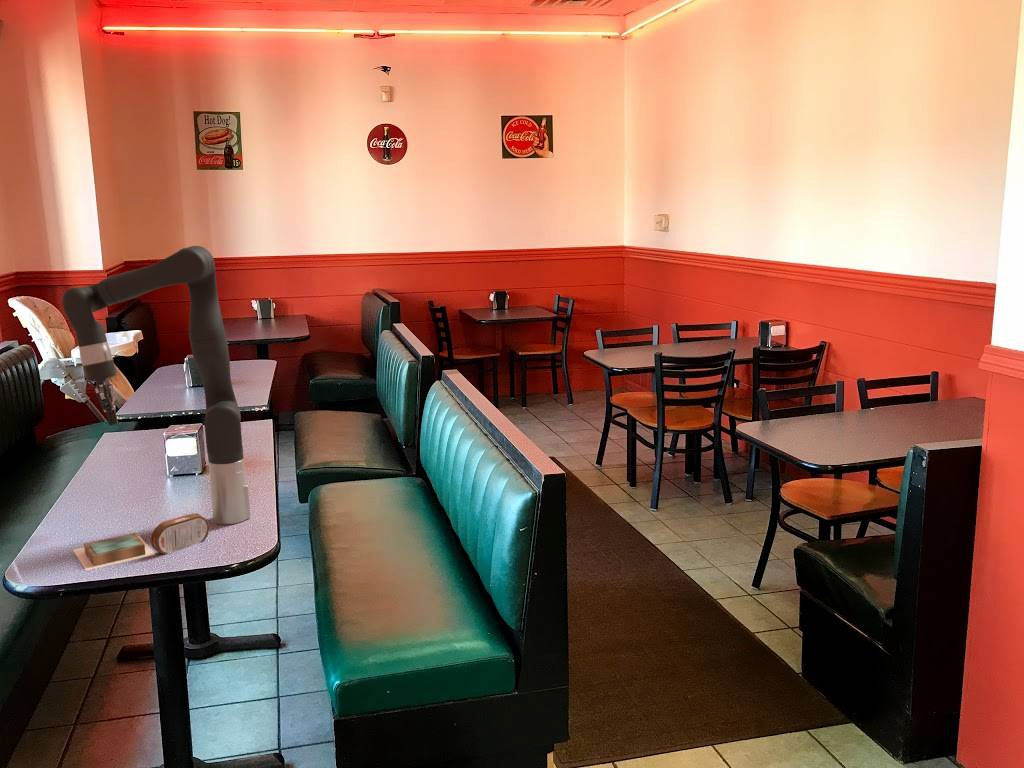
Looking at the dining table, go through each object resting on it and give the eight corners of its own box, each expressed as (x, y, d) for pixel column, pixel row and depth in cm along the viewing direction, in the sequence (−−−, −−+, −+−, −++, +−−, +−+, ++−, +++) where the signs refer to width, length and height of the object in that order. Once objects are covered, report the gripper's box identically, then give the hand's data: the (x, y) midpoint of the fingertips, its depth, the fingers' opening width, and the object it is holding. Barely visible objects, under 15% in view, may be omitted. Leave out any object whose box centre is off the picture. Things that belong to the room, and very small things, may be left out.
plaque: (134, 532, 229) (144, 544, 221) (135, 542, 230) (145, 554, 222) (83, 543, 222) (92, 555, 215) (85, 553, 223) (93, 566, 215)
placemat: (139, 537, 235) (139, 535, 234) (155, 556, 222) (155, 554, 222) (73, 551, 225) (72, 549, 225) (86, 572, 213) (86, 570, 213)
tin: (205, 539, 233) (202, 508, 232) (212, 542, 231) (209, 511, 230) (151, 557, 222) (148, 525, 220) (158, 560, 220) (155, 528, 218)
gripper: (108, 359, 231) (125, 424, 233) (116, 357, 244) (131, 418, 246) (77, 365, 229) (94, 430, 231) (86, 363, 242) (102, 425, 244)
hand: (113, 424), depth 239 cm, fingers closed
